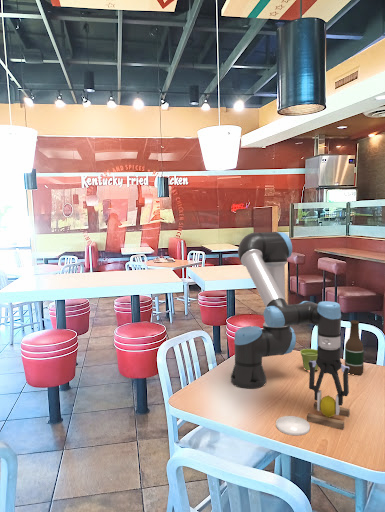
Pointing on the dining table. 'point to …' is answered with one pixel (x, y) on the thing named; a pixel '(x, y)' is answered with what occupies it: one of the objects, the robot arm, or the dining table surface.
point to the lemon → (328, 406)
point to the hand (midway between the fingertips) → (328, 411)
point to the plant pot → (309, 357)
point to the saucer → (292, 425)
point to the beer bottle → (354, 350)
